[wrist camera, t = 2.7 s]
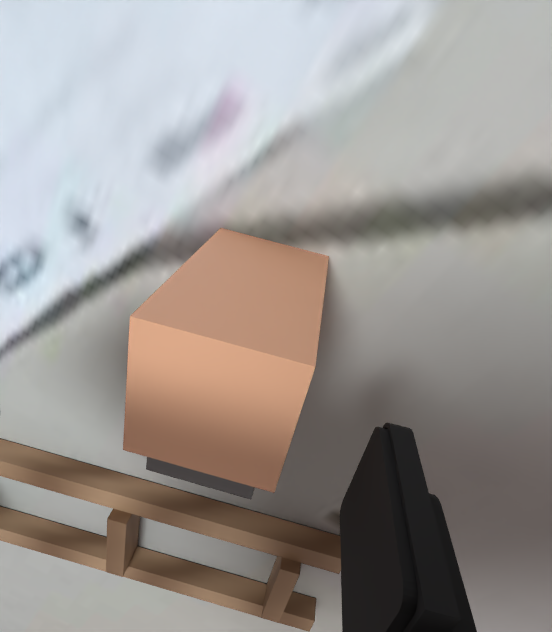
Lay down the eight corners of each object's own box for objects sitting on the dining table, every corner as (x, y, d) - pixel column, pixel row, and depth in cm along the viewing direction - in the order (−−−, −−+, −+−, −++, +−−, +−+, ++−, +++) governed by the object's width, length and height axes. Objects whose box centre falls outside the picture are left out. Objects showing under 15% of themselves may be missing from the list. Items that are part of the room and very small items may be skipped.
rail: (346, 537, 21) (345, 714, 15) (310, 609, 25) (298, 776, 19) (-191, 384, 22) (-398, 490, 16) (-154, 472, 26) (-311, 589, 20)
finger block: (220, 227, 15) (129, 316, 9) (328, 256, 15) (315, 366, 8) (202, 342, 17) (121, 475, 11) (295, 367, 17) (266, 517, 11)
